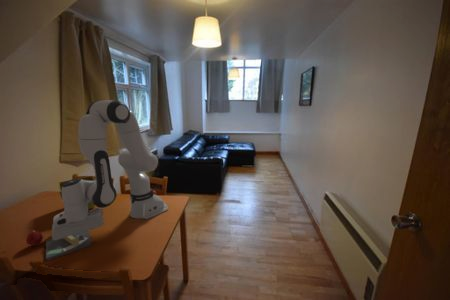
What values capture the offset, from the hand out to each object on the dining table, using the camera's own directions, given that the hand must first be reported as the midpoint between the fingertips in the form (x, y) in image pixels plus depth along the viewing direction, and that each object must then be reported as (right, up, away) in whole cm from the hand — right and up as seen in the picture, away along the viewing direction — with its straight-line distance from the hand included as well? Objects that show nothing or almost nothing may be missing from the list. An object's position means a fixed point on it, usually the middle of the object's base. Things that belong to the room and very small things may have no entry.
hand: (81, 239), depth 102 cm
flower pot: (-25, +5, +36) cm, 44 cm away
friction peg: (-7, -1, +1) cm, 7 cm away
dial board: (-7, -2, +2) cm, 8 cm away
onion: (-22, -3, 0) cm, 22 cm away
